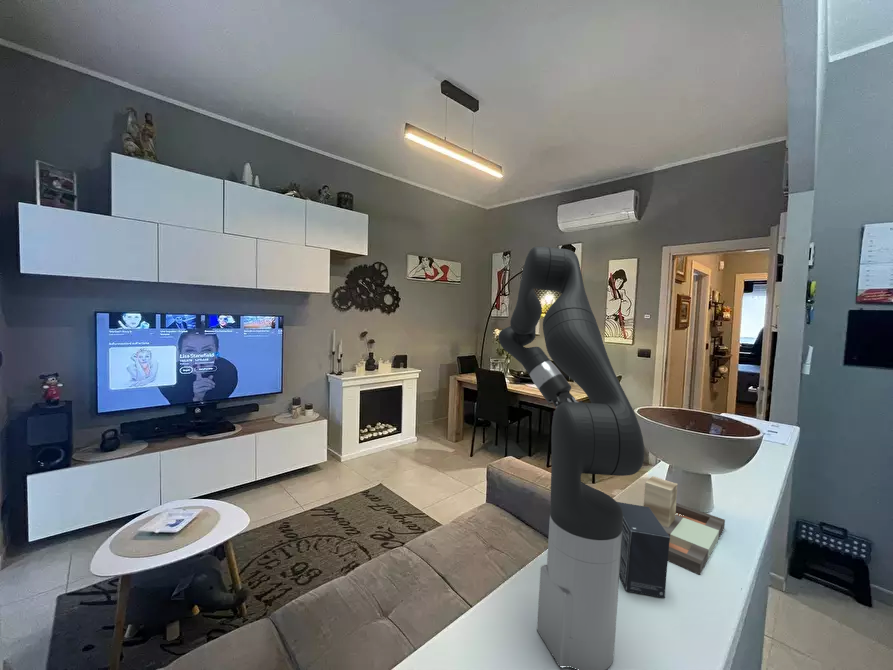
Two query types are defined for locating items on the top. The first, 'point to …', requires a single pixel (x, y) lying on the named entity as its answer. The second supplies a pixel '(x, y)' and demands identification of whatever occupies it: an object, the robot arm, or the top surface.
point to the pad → (694, 535)
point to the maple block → (661, 499)
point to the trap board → (696, 554)
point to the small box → (643, 551)
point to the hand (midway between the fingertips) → (590, 437)
